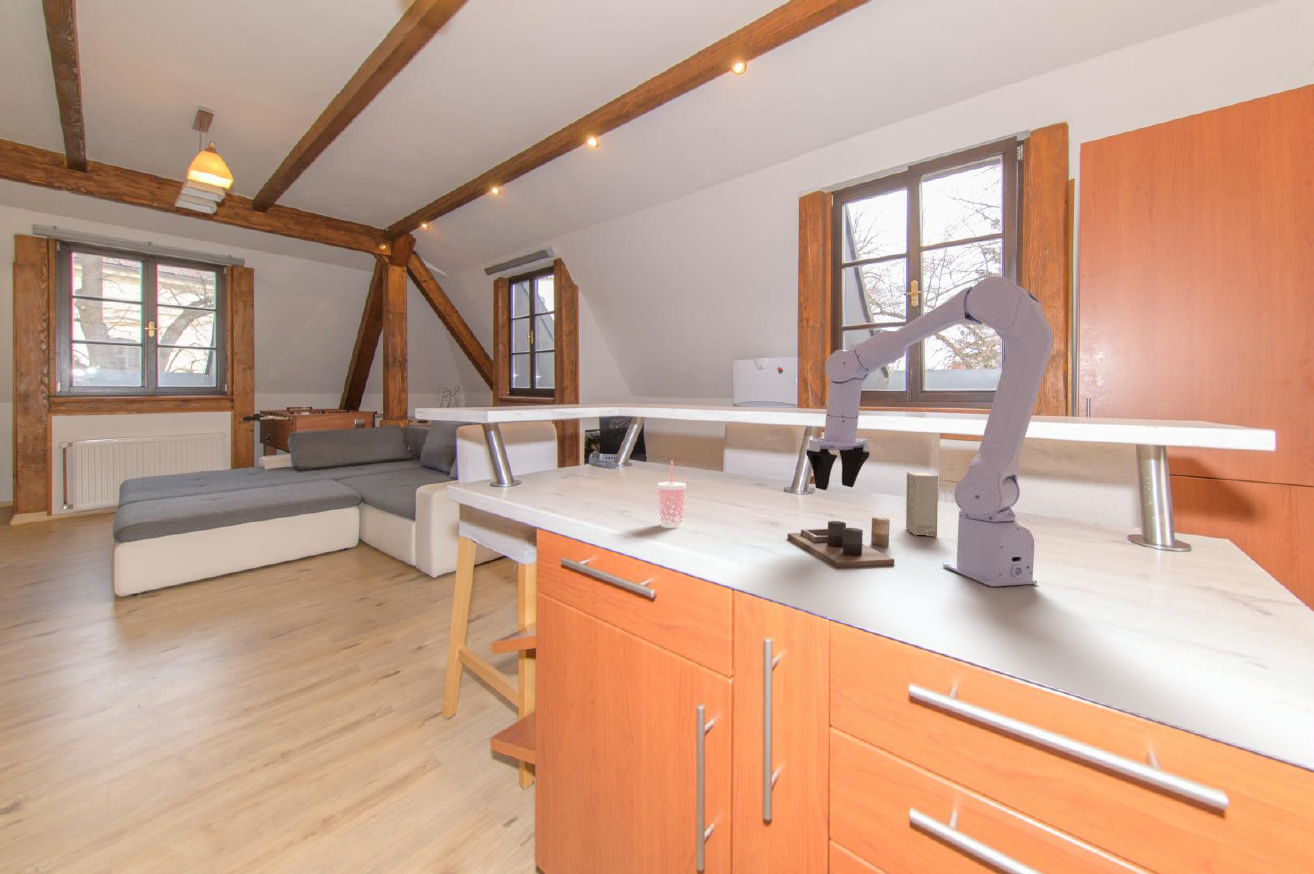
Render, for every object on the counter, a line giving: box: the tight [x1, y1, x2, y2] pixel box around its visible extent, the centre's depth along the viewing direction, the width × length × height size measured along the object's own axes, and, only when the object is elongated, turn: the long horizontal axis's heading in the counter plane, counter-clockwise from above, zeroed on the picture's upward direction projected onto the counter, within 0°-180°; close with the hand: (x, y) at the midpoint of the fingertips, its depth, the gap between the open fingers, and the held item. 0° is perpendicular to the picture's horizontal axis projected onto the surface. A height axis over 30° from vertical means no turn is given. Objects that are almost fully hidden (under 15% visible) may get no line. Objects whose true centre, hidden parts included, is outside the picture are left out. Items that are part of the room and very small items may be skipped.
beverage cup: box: [656, 459, 687, 529], centre depth 106 cm, size 6×6×14 cm
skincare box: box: [905, 471, 939, 537], centre depth 101 cm, size 6×4×12 cm
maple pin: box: [870, 516, 891, 548], centre depth 92 cm, size 3×3×5 cm
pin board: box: [787, 520, 895, 569], centre depth 88 cm, size 18×10×5 cm, turn 11°
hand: (834, 487), depth 95 cm, fingers open, 7 cm apart
